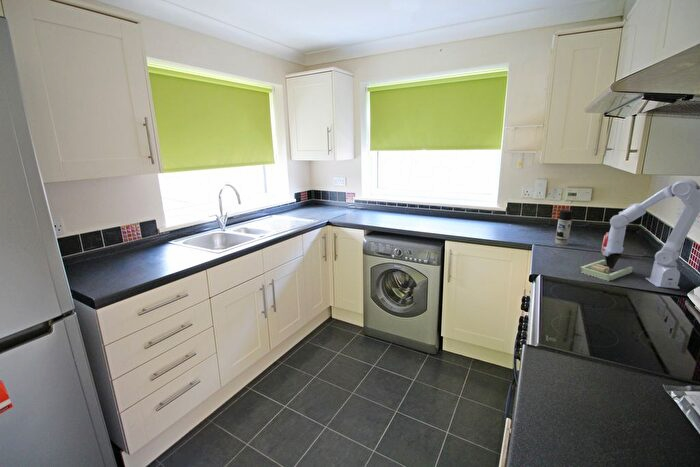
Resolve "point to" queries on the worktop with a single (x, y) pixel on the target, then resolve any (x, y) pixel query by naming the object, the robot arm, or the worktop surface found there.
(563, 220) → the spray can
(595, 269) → the maple block
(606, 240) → the soda can
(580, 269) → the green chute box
